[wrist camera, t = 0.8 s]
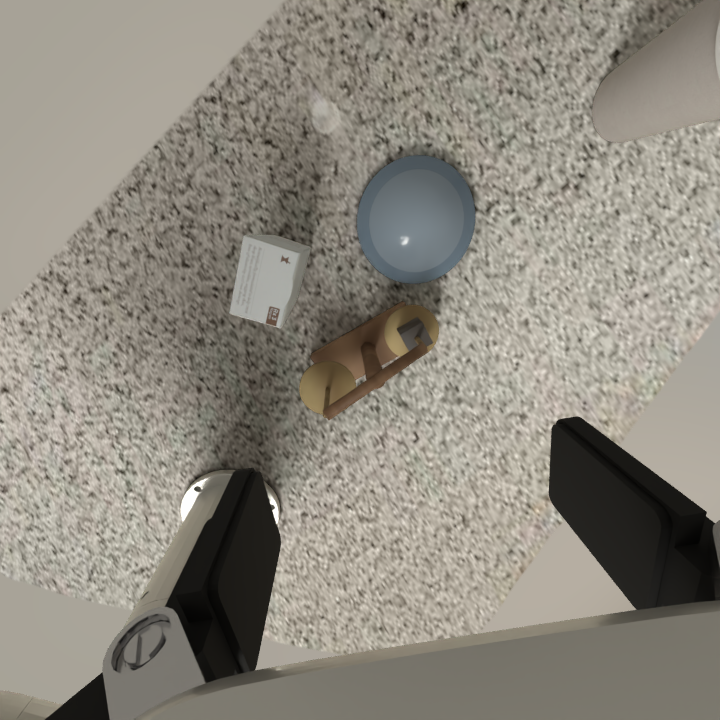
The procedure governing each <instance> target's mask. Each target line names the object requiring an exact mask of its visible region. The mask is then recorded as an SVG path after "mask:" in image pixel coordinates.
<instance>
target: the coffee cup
mask: <svg viewBox="0 0 720 720" xmlns="http://www.w3.org/2000/svg"><path fill="white" fill-rule="evenodd" d="M592 118H593V123H594V126H595V129H596V130H597V132H598V134H599V135H600V136H601V137H602V138H604V139H605V140H607V141H609V142H613V143H622V142H627V141H631V140H635V139H639V138H643V137H647V136H652V135H656V134H660V133H664V132H668V131H672V130H676V129H680V128H684V127H689V126H693V125H697V124H701V123H705V122H709V121H713V120H718V119H720V0H703V1H701V2H700V3H699V4H698V5H696V6H695V7H694V8H692V9H691V10H690V11H689V12H687V13H686V14H685V15H684V16H682V17H681V18H680V19H678V20H677V21H676V22H675V23H673V24H672V25H671V26H669V27H668V28H667V29H666V30H664V31H663V32H662V33H660V34H659V35H658V36H657V37H655V38H654V39H653V40H651V41H650V42H649V43H648V44H646V45H645V46H644V47H642V48H641V49H640V50H639V51H637V52H636V53H635V54H633V55H632V56H631V57H630V58H628V59H627V60H626V61H624V62H623V63H622V64H621V65H619V66H618V67H617V68H615V69H614V70H613V71H612V72H610V73H609V74H608V75H607V76H606V77H605V79H604V80H603V81H602V83H601V84H600V86H599V88H598V90H597V92H596V94H595V97H594V101H593V106H592Z"/></svg>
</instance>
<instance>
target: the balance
mask: <svg viewBox="0 0 720 720" xmlns="http://www.w3.org/2000/svg"><path fill="white" fill-rule="evenodd" d="M438 334H439V327H438V322H437V320H436V318H435V316H434V315H433V314H432V313H431V312H430V311H429V310H427V309H426V308H424V307H422V306H419V305H406V304H405V302H403V301H402V302H400V303H399V304H397V305H395V306H393V307H392V308H390V309H388V310H386V311H385V312H383V313H381V314H379V315H378V316H376V317H374V318H372V319H371V320H369V321H367V322H366V323H364V324H362V325H360V326H359V327H357V328H355V329H353V330H352V331H350V332H348V333H346V334H345V335H343V336H341V337H339V338H338V339H336V340H334V341H332V342H331V343H329V344H327V345H325V346H324V347H322V348H320V349H318V350H317V351H315V352H313V353H311V355H310V358H311V359H312V361H313V362H314V364H313V365H312V366H310V367H309V368H308V369H307V370H306V371H305V372H304V374H303V376H302V378H301V381H300V386H299V391H300V396H301V399H302V401H303V402H304V404H305V405H306V406H307V407H308V408H309V409H311V410H312V411H314V412H316V413H319V414H323V417H324V418H327V419H328V420H330V419H332V418H333V417H335V416H336V415H337V414H339V413H340V412H342V411H344V410H345V409H347V408H348V407H349V406H350V405H352V404H353V403H355V402H356V401H358V400H359V399H361V398H362V397H364V396H365V395H366V394H368V393H369V392H371V391H372V390H374V389H378V388H381V387H382V386H383V385H384V383H385V381H387V380H388V379H390V378H391V377H393V376H394V375H395V374H397V373H398V372H400V371H401V370H403V369H404V368H406V367H407V366H408V365H410V364H411V363H413V362H414V361H416V360H417V359H419V358H420V357H422V356H423V355H425V354H426V353H428V352H429V351H430V350H431V349H432V348H433V346H434V345H435V343H436V341H437V339H438ZM398 356H400V358H398V359H397V360H395V361H394V362H392V363H391V364H390V365H388V366H387V367H385V368H384V369H382V367H381V366H382V365H383V364H385V363H387V362H389V361H391V360H392V359H394V358H396V357H398ZM365 374H366V381H365V382H363V383H362V384H360V385H359V386H357V387H356V382H355V380H356V379H358V378H360V377H362V376H363V375H365Z"/></svg>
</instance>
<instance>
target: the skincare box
mask: <svg viewBox="0 0 720 720" xmlns="http://www.w3.org/2000/svg"><path fill="white" fill-rule="evenodd" d="M310 251H311V247H310V246H307V245H304V244H301V243H298V242H295V241H292V240H289V239H286V238H283V237H280V236H277V235H244V236H243V241H242V246H241V252H240V258H239V263H238V268H237V274H236V279H235V284H234V290H233V295H232V301H231V306H230V311H229V314H231V315H235V316H238V317H242V318H245V319H249V320H253V321H256V322H260V323H263V324H266V325H270V326H273V327H277V328H282V327H283V325H284V323H285V322H286V320H287V318H288V316H289V314H290V312H291V311H292V309H293V307H294V305H295V303H296V301H297V299H298V296H299V292H300V289H301V285H302V281H303V278H304V274H305V270H306V266H307V263H308V259H309V255H310Z"/></svg>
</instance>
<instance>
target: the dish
mask: <svg viewBox="0 0 720 720" xmlns="http://www.w3.org/2000/svg"><path fill="white" fill-rule="evenodd" d="M474 226H475V207H474V201H473V197H472V194H471V191H470V189H469V187H468V185H467V183H466V181H465V180H464V179H463V177H462V176H461V174H460V173H459V172H458V171H457V170H456V169H455V168H453V167H452V166H451V165H449V164H448V163H446V162H444V161H442V160H440V159H438V158H435V157H431V156H426V155H414V156H407V157H403V158H400V159H398V160H395V161H393V162H392V163H390V164H388V165H387V166H385V167H384V168H383V169H381V170H380V171H379V172H378V173H377V174H376V175H375V176H374V177H373V179H372V180H371V181H370V183H369V184H368V186H367V188H366V189H365V191H364V193H363V196H362V198H361V201H360V204H359V208H358V213H357V234H358V239H359V243H360V245H361V248H362V250H363V252H364V254H365V256H366V258H367V259H368V261H369V262H370V263H371V264H372V265H373V266H374V268H376V269H377V270H378V271H379V272H380V273H382V274H383V275H385V276H386V277H388V278H390V279H393V280H395V281H398V282H402V283H408V284H417V283H424V282H428V281H432V280H434V279H437V278H439V277H440V276H442V275H444V274H445V273H447V272H448V271H450V270H451V269H452V268H453V267H454V266H455V265H456V264H457V263H458V262H459V261H460V259H461V258H462V257H463V255H464V254H465V252H466V250H467V248H468V246H469V244H470V241H471V239H472V236H473V231H474Z"/></svg>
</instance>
